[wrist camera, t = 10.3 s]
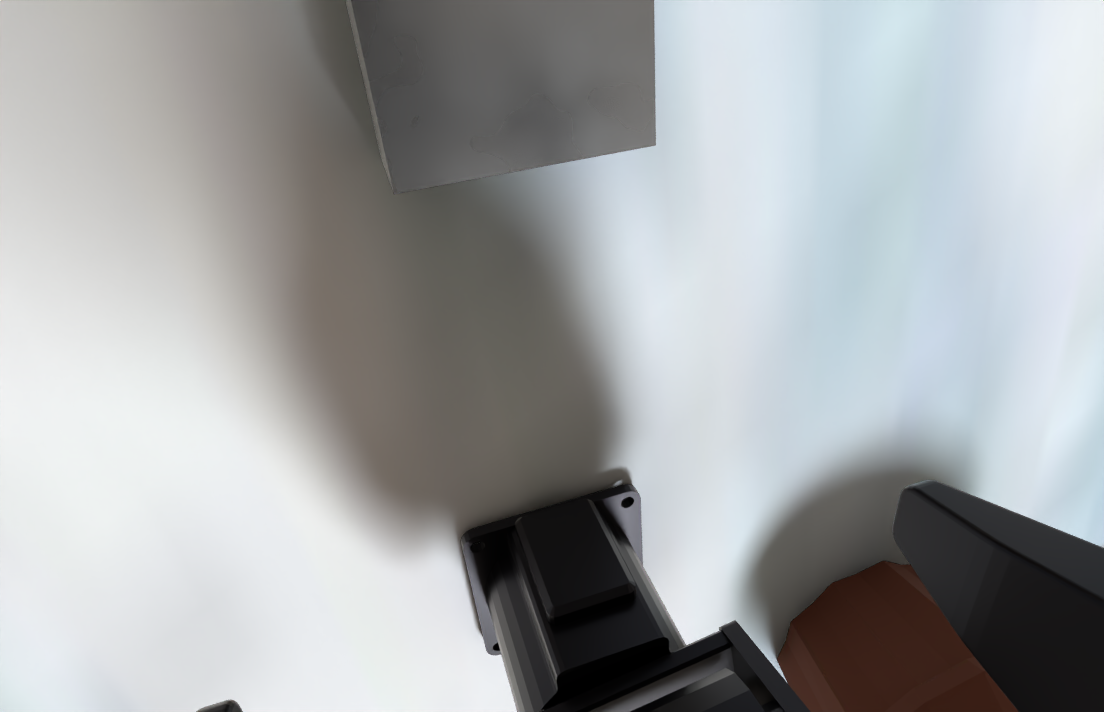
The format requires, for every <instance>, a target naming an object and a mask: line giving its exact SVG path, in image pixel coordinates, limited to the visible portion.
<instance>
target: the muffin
mask: <svg viewBox="0 0 1104 712" xmlns="http://www.w3.org/2000/svg"><path fill="white" fill-rule="evenodd" d="M777 661H778V663H779V665H780V668H781V670H782V672H783V674H784V676H785V678H786V680H787V682H788V685H789V686H790V687H791V688H792V690H793V691H794V692H795V693H796V694H797V696H798V697H799V698H800V699H801V700H802V702H803V703H804V704H805V705H806V707H807V708H808V709H809V710H810V711H811V712H1019V711H1018V710H1017V709H1016V708H1015V707H1014V705H1013V704H1012V703H1011V702H1010V700H1009V699H1008V698H1007V697H1006V695H1005V694H1004V693H1003V692H1002V690H1001V689H1000V688H999V687H998V685H997V684H996V683H995V682H994V680H993V679H992V678H991V677H990V676H989V674H988V673H987V672H986V671H985V669H984V668H983V667H982V666H981V664H980V663H979V662H978V661H977V659H976V658H975V657H974V656H973V654H972V653H971V652H970V651H969V649H968V648H967V647H966V645H965V644H964V643H963V641H962V640H961V639H960V637H959V636H958V635H957V633H956V632H955V630H954V629H953V628H952V626H951V625H950V623H949V622H948V620H947V619H946V617H945V616H944V614H943V613H942V611H941V610H940V608H939V607H938V605H937V604H936V602H935V601H934V599H933V598H932V596H931V595H930V593H929V592H928V590H927V589H926V587H925V586H924V584H923V583H922V581H921V580H920V578H919V577H918V575H917V574H916V572H915V571H914V569H913V568H912V566H911V565H900V564H896V563H891V562H887V561H881V562H879V563H877V564H875V565H873V566H871V567H869V568H867V569H865V570H863V571H861V572H859V573H857V574H855V575H852V576H849V577H847V578H844V579H841V580H839V581H836V582H833V583H832V584H831V585H830V586H829V587H828V588H827V589H826V590H825V591H824V592H823V593H822V594H821V595H820V596H819V597H818V598H817V599H816V600H815V601H814V602H813V603H812V604H811V605H810V606H809V607H808V608H806V609H805V610H804V611H803V612H802V613H801V614H799V615H798V616H797V617H796V618H795V619H793V620H792V621H791V623H790V627H789V631H788V634H787V638H786V641H785V643H784V645H783V648H782V650H781V652H780V654H779V656H778V658H777Z"/></svg>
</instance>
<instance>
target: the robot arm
mask: <svg viewBox="0 0 1104 712" xmlns="http://www.w3.org/2000/svg"><path fill="white" fill-rule="evenodd" d="M627 497H628V498H627ZM625 498H627V499H625ZM623 499H625V500H623ZM892 529H893V535H894V539H895V541H896V543H897V545H898V547H899V548H900V550H901V551H902V553H903V554H904V556H905V557H906V559H907V560H908V562H909V563H910V565H911V566H912V568H913V569H914V571H915V572H916V574H917V575H918V577H919V578H920V580H921V581H922V583H923V584H924V586H925V587H926V589H927V590H928V592H929V593H930V595H931V596H932V598H933V599H934V601H935V602H936V604H937V605H938V607H939V608H940V610H941V611H942V613H943V614H944V616H945V617H946V619H947V620H948V622H949V623H950V625H951V626H952V628H953V629H954V630H955V632H956V633H957V635H958V636H959V637H960V639H961V640H962V641H963V643H964V644H965V645H966V647H967V648H968V649H969V651H970V652H971V653H972V654H973V656H974V657H975V658H976V659H977V661H978V662H979V663H980V664H981V666H982V667H983V668H984V669H985V671H986V672H987V673H988V674H989V676H990V677H991V678H992V679H993V680H994V682H995V683H996V684H997V685H998V687H999V688H1000V689H1001V690H1002V692H1003V693H1004V694H1005V695H1006V697H1007V698H1008V699H1009V700H1010V702H1011V703H1012V704H1013V705H1014V707H1015V708H1016V709H1017V710H1018V711H1019V712H1104V548H1103V547H1100V546H1098V545H1095V544H1093V543H1090V542H1088V541H1085V540H1083V539H1080V538H1078V537H1075V536H1073V535H1070V534H1068V533H1065V532H1063V531H1060V530H1058V529H1055V528H1053V527H1050V526H1048V525H1045V524H1043V523H1040V522H1038V521H1035V520H1033V519H1030V518H1028V517H1025V516H1023V515H1020V514H1018V513H1015V512H1013V511H1010V510H1008V509H1005V508H1003V507H1000V506H998V505H995V504H993V503H990V502H988V501H985V500H983V499H980V498H978V497H975V496H973V495H970V494H968V493H965V492H963V491H960V490H958V489H955V488H953V487H950V486H948V485H945V484H943V483H940V482H938V481H934V480H925V481H921V482H918V483H915V484H912V485H909V486H906V487H905V488H904V489H903V490H902V491H901V494H900V497H899V501H898V505H897V509H896V514H895V518H894V522H893V527H892ZM479 541H480V542H479ZM475 542H479V543H477V544H473V543H475ZM461 545H462V549H463V553H464V558H465V562H466V566H467V570H468V575H469V579H470V583H471V588H472V592H473V596H474V600H475V605H476V609H477V613H478V618H479V622H480V626H481V630H482V635H483V639H484V643H485V647H486V651H487V652H488V654H490V655H500V654H501V655H502V658H503V662H504V666H505V669H506V673H507V676H508V680H509V684H510V687H511V691H512V694H513V698H514V701H515V705H516V709H517V712H811V711H810V710H809V709H808V708H807V707H806V705H805V704H804V703H803V702H802V700H801V699H800V698H799V697H798V696H797V694H796V693H795V692H794V691H793V690H792V688H791V687H790V686H789V685H788V683H787V682H786V681H785V680H784V679H783V677H782V676H781V675H780V674H779V673H778V671H777V670H776V669H775V668H774V666H773V665H772V664H771V663H770V662H769V660H768V659H767V658H766V657H765V656H764V654H763V653H762V652H761V651H760V649H759V648H758V647H757V646H756V645H755V643H754V642H753V641H752V640H751V639H750V637H749V636H748V635H747V634H746V632H745V631H744V630H743V629H742V628H741V626H740V625H739V624H738V623H737V622H736V621H732V622H730V623H728V624H726V625H723V626H721V627H719V631H718V632H716V633H713V634H711V635H709V636H707V637H704V638H702V639H700V640H698V641H695V642H693V643H691V644H689V645H686V644H685V642H684V641H683V639H682V637H681V635H680V633H679V631H678V630H677V628H676V626H675V624H674V622H673V620H672V619H671V617H670V615H669V613H668V611H667V609H666V608H665V606H664V604H663V602H662V600H661V598H660V597H659V595H658V593H657V591H656V589H655V587H654V586H653V584H652V582H651V580H650V578H649V576H648V575H647V573H646V571H645V569H644V567H643V558H642V527H641V498H640V495H639V493H638V492H637V490H636V488H635V487H634V486H633V485H629V484H625V485H620V486H617V487H614V488H610V489H607V490H603V491H600V492H596V493H593V494H590V495H586V496H583V497H579V498H576V499H572V500H569V501H566V502H562V503H559V504H555V505H552V506H549V507H545V508H542V509H538V510H535V511H531V512H528V513H525V514H521V515H518V516H514V517H511V518H507V519H504V520H501V521H497V522H494V523H490V524H487V525H483V526H480V527H477V528H473V529H471V530H469V531H467V532H466V533H465V534H464V535H463V536H462V538H461ZM197 712H243V711H242V709H241V708H240V706H239V705H238V703H237V702H236V701H234V700H226V701H223V702H220V703H217V704H213V705H210V706H207V707H204V708H201V709H200V710H198V711H197Z"/></svg>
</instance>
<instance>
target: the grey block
mask: <svg viewBox="0 0 1104 712" xmlns="http://www.w3.org/2000/svg"><path fill="white" fill-rule="evenodd" d="M345 1H346V5H347V10H348V14H349V19H350V23H351V28H352V32H353V36H354V41H355V45H356V50H357V54H358V59H359V63H360V67H361V72H362V76H363V81H364V85H365V89H366V94H367V98H368V103H369V107H370V112H371V116H372V120H373V125H374V129H375V134H376V138H377V143H378V147H379V151H380V156H381V160H382V163H383V165H384V168H385V171H386V174H387V176H388V179H389V182H390V185H391V188H392V190H393V193H394V194H398V193H403V192H409V191H414V190H419V189H425V188H430V187H435V186H441V185H446V184H451V183H457V182H462V181H467V180H473V179H478V178H484V177H489V176H494V175H500V174H505V173H510V172H516V171H521V170H526V169H532V168H537V167H542V166H548V165H553V164H559V163H564V162H569V161H575V160H580V159H585V158H591V157H596V156H601V155H607V154H612V153H617V152H623V151H628V150H634V149H639V148H644V147H650V146H655V145H656V127H655V44H654V0H345Z"/></svg>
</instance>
